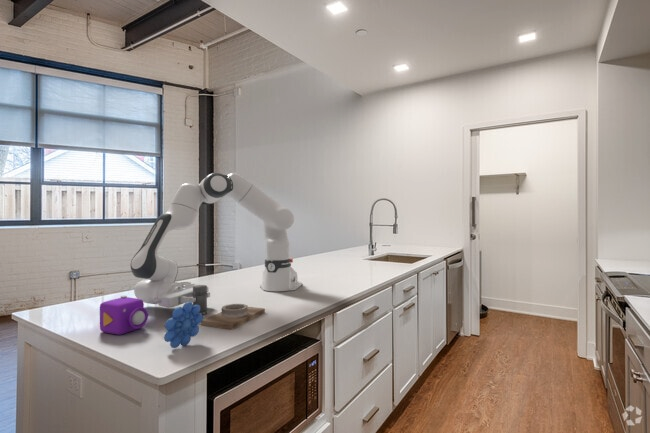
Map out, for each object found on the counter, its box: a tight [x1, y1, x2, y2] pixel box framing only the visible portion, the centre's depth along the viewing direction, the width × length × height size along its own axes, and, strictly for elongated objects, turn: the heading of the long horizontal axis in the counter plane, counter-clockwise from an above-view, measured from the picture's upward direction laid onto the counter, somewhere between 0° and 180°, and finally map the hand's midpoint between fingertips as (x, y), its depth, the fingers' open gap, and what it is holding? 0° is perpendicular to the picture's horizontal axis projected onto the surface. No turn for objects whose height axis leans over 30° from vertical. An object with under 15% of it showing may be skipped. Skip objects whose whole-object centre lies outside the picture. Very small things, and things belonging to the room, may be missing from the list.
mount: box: [200, 303, 266, 330], centre depth 126 cm, size 20×12×4 cm, turn 159°
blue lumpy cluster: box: [163, 302, 204, 349], centre depth 101 cm, size 12×7×12 cm, turn 144°
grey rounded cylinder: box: [192, 284, 208, 316], centre depth 131 cm, size 5×5×10 cm
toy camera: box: [99, 295, 149, 336], centre depth 113 cm, size 11×14×10 cm
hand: (201, 297), depth 131 cm, fingers open, 6 cm apart
